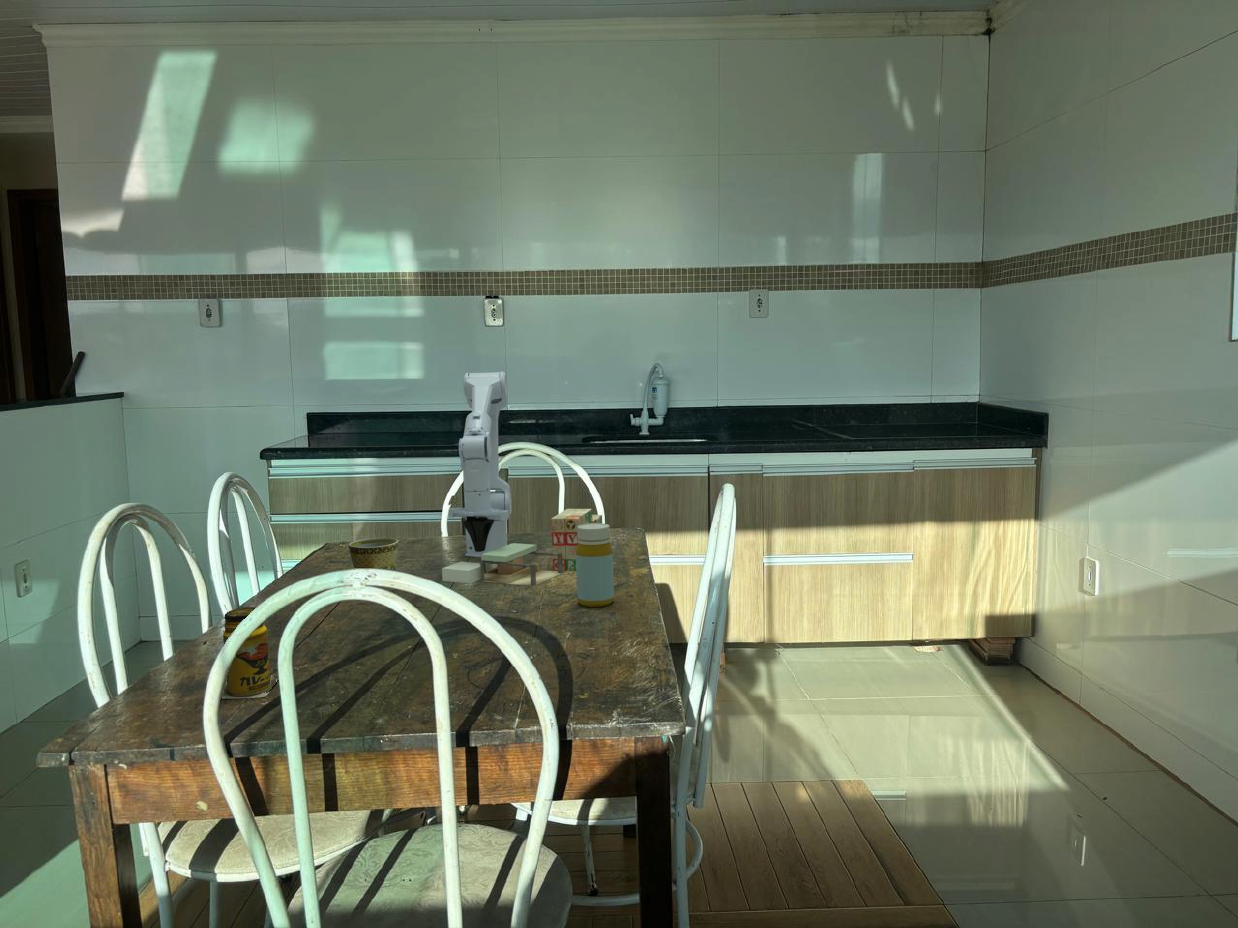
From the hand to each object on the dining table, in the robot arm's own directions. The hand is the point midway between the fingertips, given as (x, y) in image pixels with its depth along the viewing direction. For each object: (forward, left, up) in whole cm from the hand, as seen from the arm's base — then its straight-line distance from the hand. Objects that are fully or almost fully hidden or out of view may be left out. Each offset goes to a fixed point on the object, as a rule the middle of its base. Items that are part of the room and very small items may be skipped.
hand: (480, 550), depth 208 cm
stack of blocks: (+15, +19, -6) cm, 24 cm away
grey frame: (+11, 0, -5) cm, 12 cm away
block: (+8, 0, -5) cm, 9 cm away
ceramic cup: (-15, -18, -5) cm, 24 cm away
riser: (0, -5, -5) cm, 8 cm away
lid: (+8, 0, 0) cm, 8 cm away
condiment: (+8, -74, -6) cm, 75 cm away
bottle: (+35, -13, -5) cm, 38 cm away
